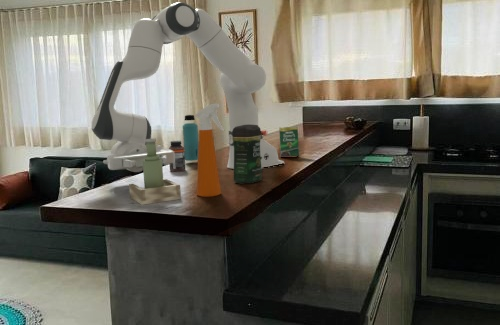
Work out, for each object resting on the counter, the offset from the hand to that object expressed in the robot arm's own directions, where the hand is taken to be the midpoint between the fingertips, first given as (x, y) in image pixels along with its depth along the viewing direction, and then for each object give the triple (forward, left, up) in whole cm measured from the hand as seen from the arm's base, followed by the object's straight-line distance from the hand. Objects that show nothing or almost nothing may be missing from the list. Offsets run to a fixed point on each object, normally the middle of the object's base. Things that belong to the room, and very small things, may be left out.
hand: (149, 162), depth 143 cm
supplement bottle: (-23, -37, -10) cm, 45 cm away
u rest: (0, +4, -10) cm, 11 cm away
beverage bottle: (-35, -51, -10) cm, 63 cm away
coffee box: (-73, -35, -10) cm, 82 cm away
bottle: (0, +4, -9) cm, 10 cm away
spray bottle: (-15, +11, -10) cm, 21 cm away
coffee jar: (-33, 0, -10) cm, 34 cm away
